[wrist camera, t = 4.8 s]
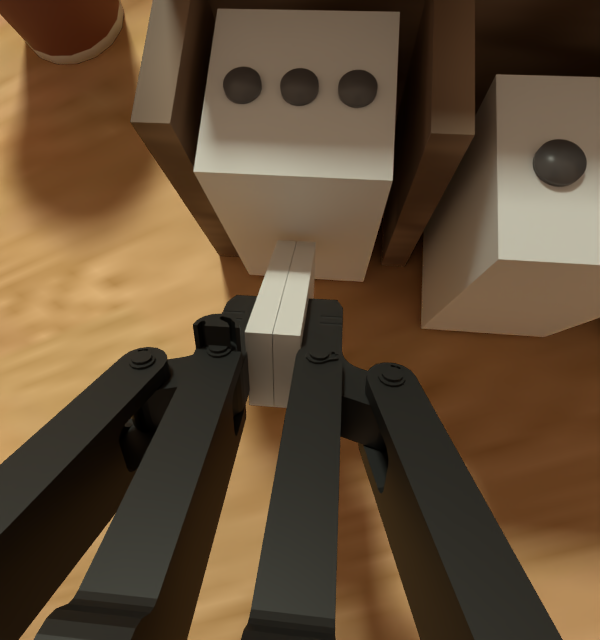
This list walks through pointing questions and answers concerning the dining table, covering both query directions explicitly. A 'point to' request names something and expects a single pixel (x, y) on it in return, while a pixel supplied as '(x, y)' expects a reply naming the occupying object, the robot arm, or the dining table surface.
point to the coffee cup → (65, 26)
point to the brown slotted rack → (411, 97)
